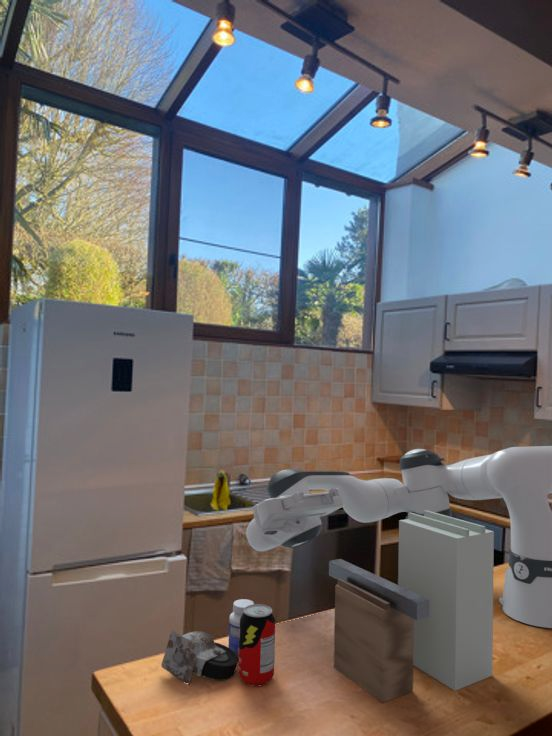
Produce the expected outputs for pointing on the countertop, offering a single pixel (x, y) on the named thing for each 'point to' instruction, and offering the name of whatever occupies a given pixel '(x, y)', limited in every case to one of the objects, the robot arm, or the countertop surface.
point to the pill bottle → (236, 623)
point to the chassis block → (372, 643)
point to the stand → (450, 595)
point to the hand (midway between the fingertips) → (319, 493)
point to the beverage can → (257, 645)
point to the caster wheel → (198, 657)
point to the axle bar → (381, 589)
